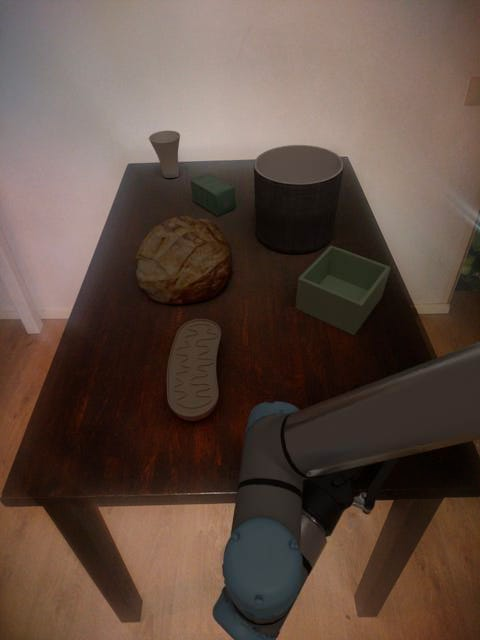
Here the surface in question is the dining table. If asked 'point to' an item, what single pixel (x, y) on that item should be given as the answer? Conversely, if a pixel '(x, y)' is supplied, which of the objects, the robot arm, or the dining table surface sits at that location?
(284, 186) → the planter
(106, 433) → the dining table surface
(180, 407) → the anatomical model
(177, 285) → the bread
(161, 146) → the cup
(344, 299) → the waste bin
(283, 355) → the dining table surface
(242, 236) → the dining table surface
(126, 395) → the dining table surface
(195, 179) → the box
